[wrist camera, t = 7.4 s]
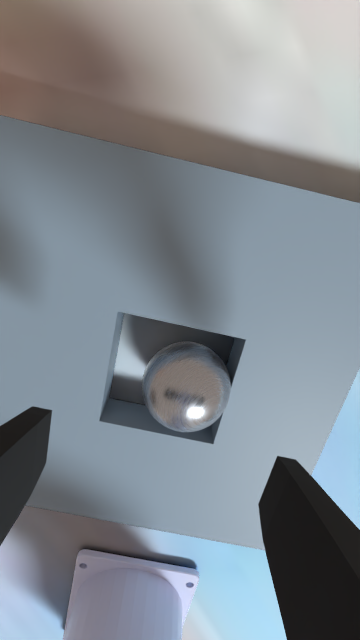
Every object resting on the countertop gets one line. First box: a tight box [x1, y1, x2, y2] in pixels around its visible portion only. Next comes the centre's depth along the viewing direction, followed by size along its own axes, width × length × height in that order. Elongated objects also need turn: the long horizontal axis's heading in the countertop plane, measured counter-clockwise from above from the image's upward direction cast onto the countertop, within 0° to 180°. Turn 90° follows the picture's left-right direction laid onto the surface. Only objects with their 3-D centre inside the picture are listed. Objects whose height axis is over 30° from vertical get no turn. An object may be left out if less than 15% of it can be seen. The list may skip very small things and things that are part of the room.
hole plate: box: [0, 115, 360, 550], centre depth 15 cm, size 18×16×2 cm
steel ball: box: [142, 342, 231, 432], centre depth 14 cm, size 4×4×4 cm
